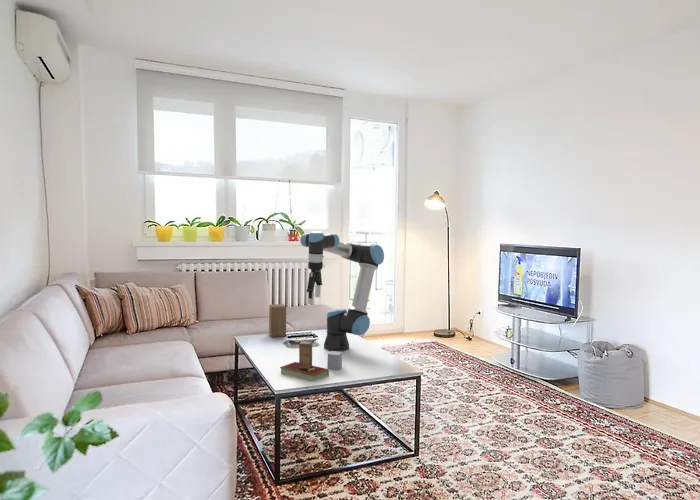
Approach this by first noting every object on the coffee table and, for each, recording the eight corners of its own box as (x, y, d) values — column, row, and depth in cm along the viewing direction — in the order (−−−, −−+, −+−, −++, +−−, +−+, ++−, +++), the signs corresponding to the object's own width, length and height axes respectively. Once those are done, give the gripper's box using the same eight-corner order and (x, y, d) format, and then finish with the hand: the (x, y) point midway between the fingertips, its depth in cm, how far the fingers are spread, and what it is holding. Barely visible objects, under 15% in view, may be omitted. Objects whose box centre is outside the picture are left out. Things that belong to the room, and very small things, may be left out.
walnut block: (302, 365, 239) (302, 341, 238) (312, 366, 238) (312, 341, 237) (299, 368, 234) (299, 343, 234) (309, 368, 233) (308, 344, 232)
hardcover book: (295, 369, 246) (295, 361, 246) (328, 376, 235) (328, 368, 235) (279, 374, 236) (279, 366, 236) (313, 383, 225) (313, 374, 225)
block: (268, 334, 320) (269, 304, 319) (283, 333, 323) (283, 303, 322) (270, 337, 310) (271, 306, 309) (286, 336, 313) (286, 306, 312)
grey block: (330, 366, 250) (330, 351, 250) (341, 367, 249) (342, 351, 248) (327, 369, 244) (327, 354, 244) (338, 370, 243) (338, 355, 242)
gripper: (315, 266, 237) (314, 307, 241) (328, 257, 261) (326, 295, 265) (301, 265, 239) (300, 306, 243) (315, 256, 263) (313, 293, 267)
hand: (314, 300), depth 254 cm, fingers open, 13 cm apart
